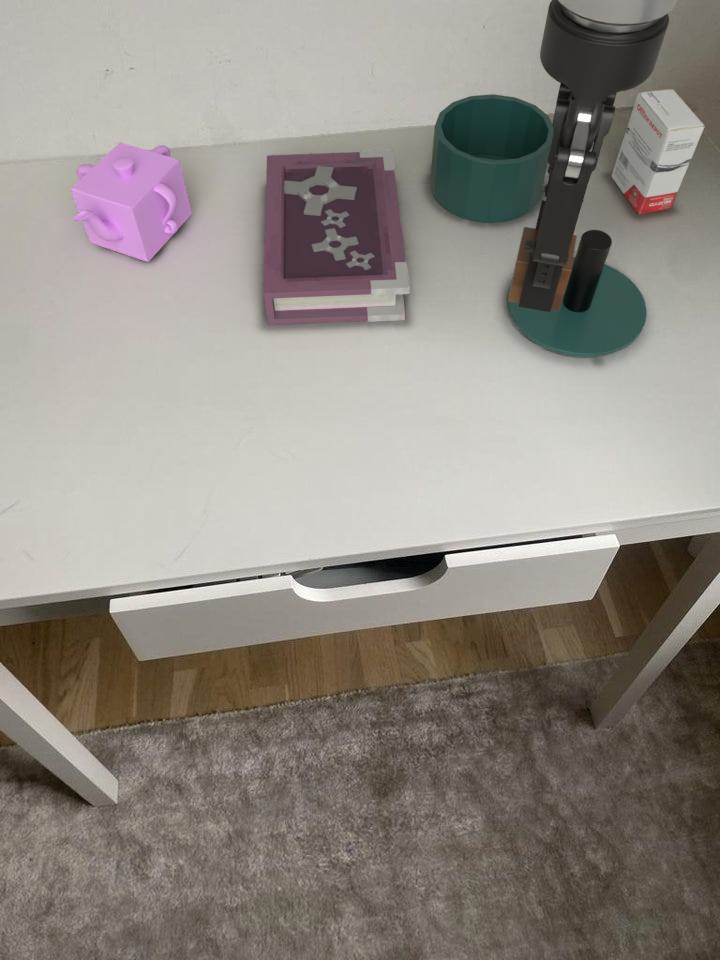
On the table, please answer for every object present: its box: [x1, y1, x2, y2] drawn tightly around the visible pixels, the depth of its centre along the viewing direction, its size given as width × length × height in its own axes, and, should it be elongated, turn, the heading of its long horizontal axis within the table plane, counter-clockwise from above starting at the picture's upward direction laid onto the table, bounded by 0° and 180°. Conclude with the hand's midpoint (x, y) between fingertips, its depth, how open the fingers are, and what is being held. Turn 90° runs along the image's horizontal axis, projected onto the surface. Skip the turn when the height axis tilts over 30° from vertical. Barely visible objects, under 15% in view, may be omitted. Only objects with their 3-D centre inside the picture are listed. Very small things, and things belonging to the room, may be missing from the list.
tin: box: [429, 93, 554, 224], centre depth 98 cm, size 15×15×8 cm
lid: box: [506, 229, 647, 358], centre depth 85 cm, size 16×16×10 cm
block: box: [507, 226, 578, 311], centre depth 66 cm, size 4×4×4 cm
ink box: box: [611, 88, 706, 215], centre depth 96 cm, size 8×5×12 cm, turn 14°
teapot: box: [70, 141, 193, 263], centre depth 92 cm, size 18×14×10 cm
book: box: [263, 148, 411, 326], centre depth 93 cm, size 25×16×5 cm, turn 3°
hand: (538, 285), depth 67 cm, fingers closed on block, 4 cm apart
